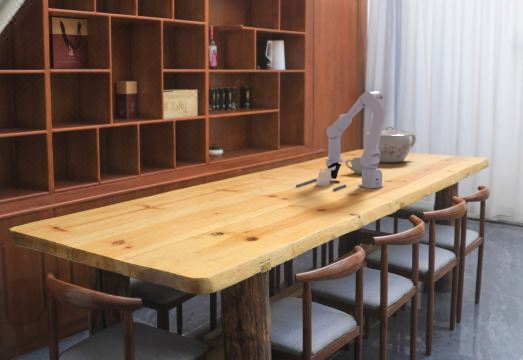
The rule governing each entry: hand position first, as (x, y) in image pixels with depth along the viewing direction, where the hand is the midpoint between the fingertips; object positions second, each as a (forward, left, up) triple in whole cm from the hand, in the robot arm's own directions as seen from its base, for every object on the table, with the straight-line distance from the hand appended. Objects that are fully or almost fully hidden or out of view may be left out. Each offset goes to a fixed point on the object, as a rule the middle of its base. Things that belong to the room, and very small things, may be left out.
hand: (334, 178), depth 319 cm
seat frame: (-5, +9, -2) cm, 10 cm away
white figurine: (-3, +7, -2) cm, 8 cm away
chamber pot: (+41, -68, -2) cm, 80 cm away
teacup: (+15, -26, -2) cm, 30 cm away
